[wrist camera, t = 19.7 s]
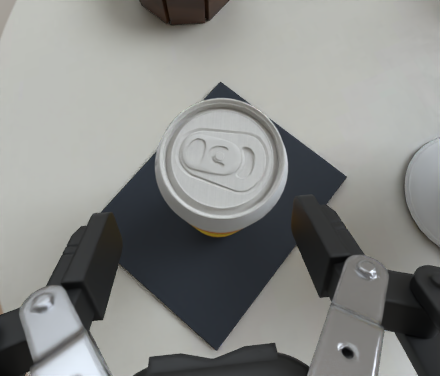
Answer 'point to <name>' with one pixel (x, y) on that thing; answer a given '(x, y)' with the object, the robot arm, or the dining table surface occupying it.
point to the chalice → (425, 189)
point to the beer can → (221, 166)
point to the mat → (213, 242)
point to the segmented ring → (183, 10)
